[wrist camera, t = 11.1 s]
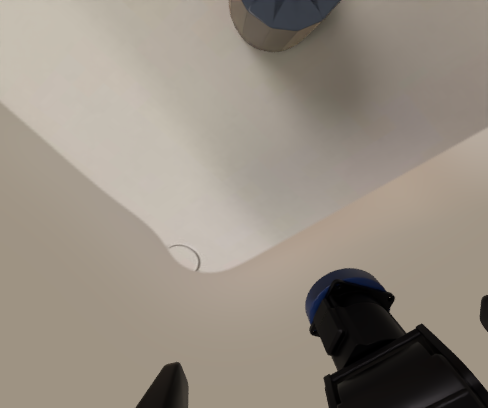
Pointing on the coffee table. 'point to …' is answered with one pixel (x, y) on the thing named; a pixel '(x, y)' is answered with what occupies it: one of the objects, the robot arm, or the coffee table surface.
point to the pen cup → (278, 21)
